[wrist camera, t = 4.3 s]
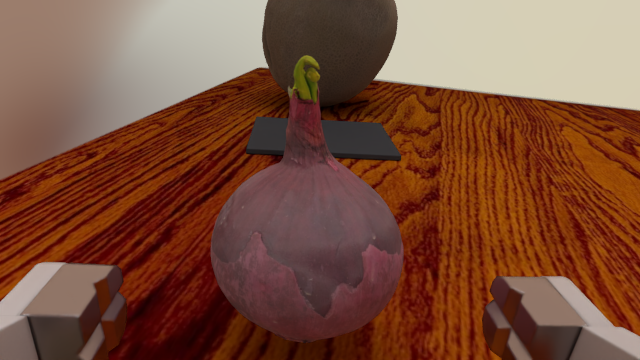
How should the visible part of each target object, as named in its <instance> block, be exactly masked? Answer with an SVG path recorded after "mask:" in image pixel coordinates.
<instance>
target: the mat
mask: <svg viewBox="0 0 640 360" xmlns="http://www.w3.org/2000/svg"><path fill="white" fill-rule="evenodd" d="M321 123H322V129H323V133H324V137H325V140H326V144H327V147H328V149H329V151H330V153H331V155H332V156H333V157H338V158H360V159H382V160H401V155H400V153H399V152H398V150H397V148H396V147H395V145H394V144H393V142H392V141H391V139H390V137H389V136H388V134H387V133H386V131H385V130H384V128H383V126H382V125H381V123H367V122H348V121H329V120H321ZM287 126H288V118H271V117H256V120H255V123H254V127H253V130H252V133H251V136H250V139H249V142H248V145H247V148H246V153H250V154H272V155H284V152H285V146H286V128H287Z"/></svg>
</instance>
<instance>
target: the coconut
mask: <svg viewBox="0 0 640 360" xmlns="http://www.w3.org/2000/svg"><path fill="white" fill-rule="evenodd" d="M397 20H398V16H397V10H396V4H395V1H394V0H268V2H267V6H266V9H265V18H264V26H263V32H262V42H263V49H264V55H265V58H266V62H267V64H268V66H269V69H270V72H271V74H272V76H273V77H274V79H275V81H276V82H277V83H278V85H279V86H280V87H281V88H282V89H283V90H284V91H286V92H288V87H290V88H291V89H293V87H294V81H295V79H294V76H293V75H294V69H295V66H296V64H297V63H298V61H299V60H300V59H301V58H302V57H303V56H306V55H307V56H311V57H312V58H313V59H315V61H316V62H317V63H318V65H319V68H320V69H319V70H318V69H316V68H315V67H313V66H310V65H305V66H304V68H303V69H304V71H305V72H306V71H307V70H308V68H311V67H312V68H314V69H315V70H316V71H317V72H318V74H319V75H320V79H319V80H318V81H317V84H318V88H319V106H320V107H326V106H332V105H336V104H339V103H341V102H344V101H347V100H349V99H351V98H352V97H354V96H356V95H357V94H359V93H360V92H361V91H363V90H364V89H365V88H366V87H367V86H368V85H369V84H370V83H371V82H372V80H373V79H374V78H375V77H376V75H377V74H378V72H379V71H380V70H381V68H382V67H383V65H384V63H385V61H386V60H387V58H388V56H389V53H390V51H391V49H392V46H393V43H394V40H395V36H396V31H397Z"/></svg>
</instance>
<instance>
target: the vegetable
mask: <svg viewBox="0 0 640 360" xmlns="http://www.w3.org/2000/svg"><path fill="white" fill-rule="evenodd" d="M305 65H310V66H313V67H315V68H316V69H318V70H319V69H320V68H319V65H318V63H317V62H316V61H315V59H313V58H312V57H311V56H307V55H306V56H303V57H302V58H301V59H300V60H299V61H298V63H297V64H296V66H295V69H294V75H293V76H294V79H295V81H294V87H293V89H291V88H290V87H288V94H289V97H290V109H289V118H288V126H287V128H286V146H285V152H284V156H283V159H282V161H281V162H280V163H277V164H275V165H272V166H270V167H268V168H266V169H264V170H261V171H260V172H258V173H256V174H255V175H253V176H252V177H250V178H249V179H248V180H246V181H245V182H244V183H242V184H241V185H240V186H239V187H238V189H237V190H236V191H235V192H234V193H233V194H232V195H231V197H230V198H229V199H228V201H227V202H226V203H225V205H224V206H223V208H222V210H221V211H220V214H219V216H218V218H217V220H216V223H215V227H214V231H213V234H212V240H211V261H212V266H213V269H214V273H215V276H216V279H217V282H218V284H219V286H220V288H221V290H222V292H223V293H224V294H225V296H226V297H227V299H228V300H229V302H230V303H231V304H232V305H233V306H234V307H235V308H236V309H237V310H238V311H239V312H240V313H241V314H242V315H243V316H245V317H246V318H247V319H248V320H250V321H252V322H253V323H255V324H257V325H258V326H260V327H262V328H264V329H266V330H268V331H271V332H273V333H274V334H275V335H277V336H279V337H281V338H283V339H285V340H290V341H296V342H303V343H310V342H312V341H316V340H320V339H328V338H332V337H335V336H340V335H343V334H345V333H349V332H352V331H355V330H357V329H359V328H361V327H363V326H364V325H366V324H367V323H368V322H370V321H371V320H372V319H373V318H375V317H376V316H377V315H378V314H379V313H380V312H381V311H382V310H383V309H384V308H385V306H386V305H387V304H388V302H389V301H390V299H391V298H392V296H393V294H394V292H395V290H396V287H397V284H398V281H399V278H400V275H401V271H402V266H403V251H404V250H403V243H402V240H401V235H400V231H399V227H398V225H397V223H396V220H395V218H394V216H393V214H392V213H391V211H390V209H389V208H388V206H387V204H386V203H385V202H384V200H383V199H382V198H381V197H380V195H379V194H378V193H377V192H376V191H375V190H374V189H373V188H371V187H370V186H369V185H368V184H367V183H365V182H364V181H363V180H362V179H360V178H359V177H358V176H356V175H355V174H354V173H353V172H351V171H350V170H349V169H347V168H346V167H345V166H343V165H342V164H340V163H339V162H338V161H337V160H336V159H335V158H334V157H333V156H332V155H331V153H330V151H329V149H328V147H327V144H326V140H325V137H324V133H323V129H322V123H321V112H320V106H319V88H318V84H317V81H318V80H319V79H320V75H319V74H318V72H317V71H316V70H315V69H314V68H312V67H311V68H308V70H307V71H306V72H305V71H304V69H303V68H304V66H305Z"/></svg>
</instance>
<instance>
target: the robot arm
mask: <svg viewBox="0 0 640 360" xmlns="http://www.w3.org/2000/svg"><path fill="white" fill-rule="evenodd" d="M122 284H123V277H122V271H121V268H119V267H118V266H117V265H103V264H83V263H58V262H43V263H39V264H37V265H36V266H35V267H34V268H33V269H32V270H31V271H30V272H29V273H28V274H27V275H26V276H25V277H24V278H23V279H22V280H21V281H20V282H19V283H18V284H17V285H16V286H15V287H14V288H13V289H12V290H11V291H10V292H9V293H8V294H7V295H6V297H5V298H4V299H3V300H2V301H1V302H0V360H109V358H108V351H110V350H111V349H113V348H114V347H115V346H117V345H118V344H119V342H120V340H121V338H122V335H123V333H124V329H125V325H126V321H127V303H126V299H125V298H124V297H123V296H122V295H121V294H120V293H119V292H118V290H119V289H120V287H121V285H122ZM490 292H491V294H492V296H493V298H494V300H492V301H491V302H490V303H489V304H488V305H487V306H486V307H485V310H484V314H483V318H482V324H483V334H484V337H485V340H486V343H487V345H488V346H489V348H490V350H491V351H492V352H494V353H495V354H496V355H498V356H499V357H500V358H502V359H501V360H640V336H638V335H636V334H634V333H632V332H630V331H628V330H626V329H624V328H622V327H614V326H613V325H612V324H611V322H610V321H609V320H608V319H607V318H606V317H605V316H604V315H603V314H602V313H601V312H600V311H599V310H598V309H597V308H596V307H595V306H594V305H593V304H592V303H591V302H590V300H589V299H588V298H587V297H586V296H585V295H584V294H583V293H582V292H581V291H580V290H579V289H578V288H577V287H576V286H575V285H574V284H573V283H572V282H571V281H570V280H569V279H567V278H565V277H563V276H541V277H513V276H497V277H496V278H495V279H494V281H493V282H492V285H491V289H490Z"/></svg>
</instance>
